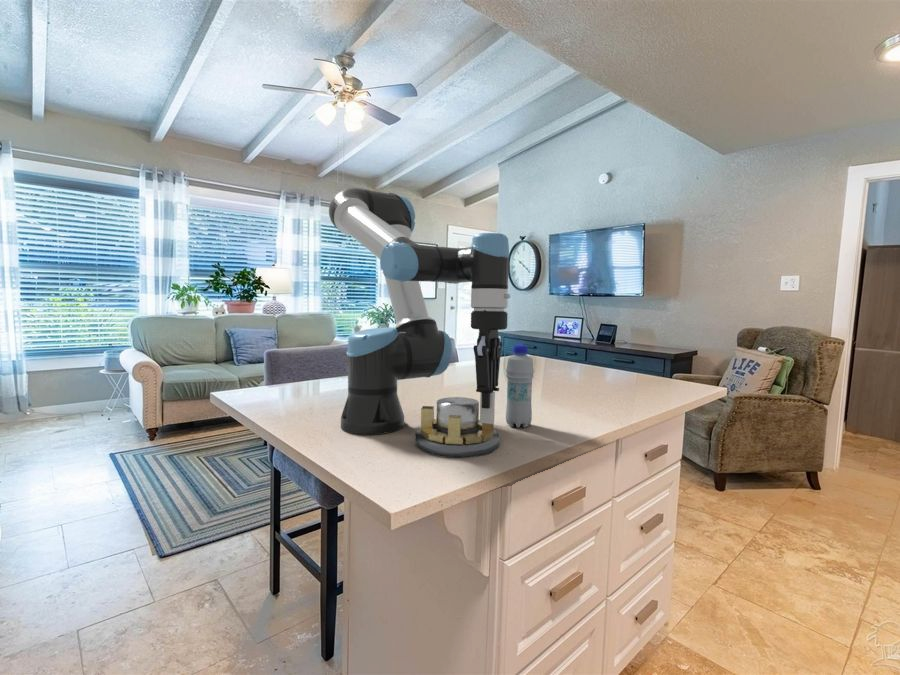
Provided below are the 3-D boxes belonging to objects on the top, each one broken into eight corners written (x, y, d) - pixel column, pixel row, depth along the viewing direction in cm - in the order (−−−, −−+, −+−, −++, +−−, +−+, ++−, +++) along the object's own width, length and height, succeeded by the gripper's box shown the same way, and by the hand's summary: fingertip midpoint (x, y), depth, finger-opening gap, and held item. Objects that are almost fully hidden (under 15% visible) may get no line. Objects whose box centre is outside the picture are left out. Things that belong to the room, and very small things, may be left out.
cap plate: (401, 451, 92) (401, 407, 91) (433, 427, 109) (433, 390, 108) (487, 462, 86) (488, 416, 85) (507, 435, 103) (507, 396, 102)
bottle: (531, 430, 107) (534, 346, 106) (503, 428, 109) (505, 345, 107) (532, 422, 114) (535, 343, 112) (505, 420, 115) (507, 342, 114)
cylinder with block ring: (415, 442, 91) (415, 416, 90) (427, 421, 106) (427, 399, 105) (493, 445, 89) (493, 419, 88) (493, 423, 104) (494, 401, 104)
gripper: (498, 310, 86) (496, 432, 88) (514, 310, 98) (512, 417, 100) (461, 309, 89) (459, 428, 91) (481, 309, 101) (479, 414, 103)
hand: (487, 422), depth 95 cm, fingers closed
